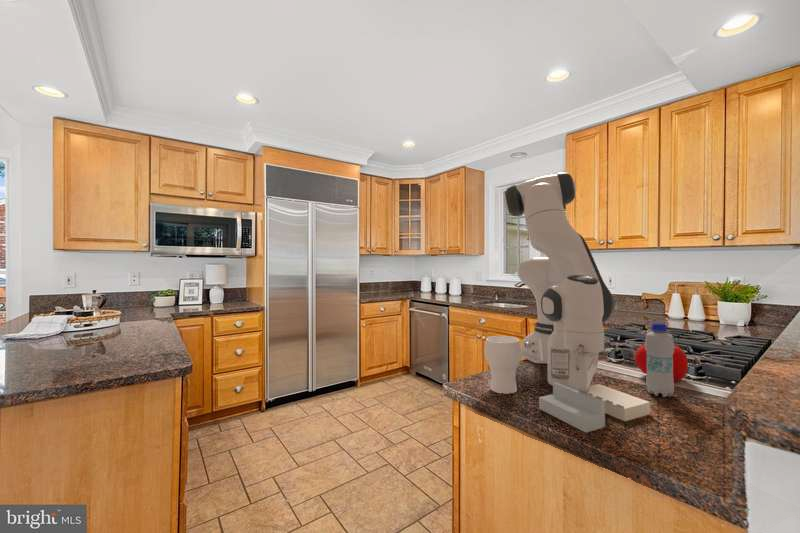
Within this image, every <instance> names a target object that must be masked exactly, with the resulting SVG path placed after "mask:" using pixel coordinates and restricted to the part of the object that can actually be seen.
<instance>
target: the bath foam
mask: <svg viewBox="0 0 800 533" xmlns="http://www.w3.org/2000/svg"><path fill="white" fill-rule="evenodd" d="M570 357H571V354H570V350H569V349H566V348H565V347H564V322H554V331H553V332H552V334H551V335H550V337H549V339H548V342H547V366H546V367H547V368H546V369H547V372H546V374H547V383H548V384H549V385H550V386H552V387H553V383H554V382H557V383H560V384H563V385H565V386H568V387H570V384H569V370H570Z"/></svg>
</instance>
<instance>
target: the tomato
mask: <svg viewBox="0 0 800 533" xmlns="http://www.w3.org/2000/svg"><path fill="white" fill-rule="evenodd" d="M674 347H675V348H674V353H673V380H674V382H677V381H680V380H682V379H684V377H685V376H686V374H687V372H688V365H689V364H688V362H689V361H688V358H687V355H686V353H685V352H684V351H683V349H682V348H681V347H680V346H678V345H676V344H674ZM634 362H635V364H636V366H637V367H638V368H639V370H641V372H643V373H644V374H645V375H647V352H646V350H645V343H644V344H643V345H641V346H639V347H638V348H637V350H636V351H635V353H634Z"/></svg>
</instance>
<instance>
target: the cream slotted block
mask: <svg viewBox="0 0 800 533" xmlns="http://www.w3.org/2000/svg"><path fill="white" fill-rule="evenodd" d="M578 391H579V390H578ZM589 391H590V394H589V395H590V396H593V397H595V398H598V399H601V400H603V401H605V415H609V416H611V417H614V418H616V419H619V421H620V420H621V421H623V422H628V421H631V420H635V419H638V418H642V417H645V416H649V415H651V401H648V400H647V399H646V400H645V399H642V398H639V397H638V396H637V397H636V396H634V395H630V394H628V393H626V392H622V391H620V390H617V389H614V388H610V387H608V386H605V385H603V384H600V383H599V384H598V383H597V384H593V385H590V389H589Z"/></svg>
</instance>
